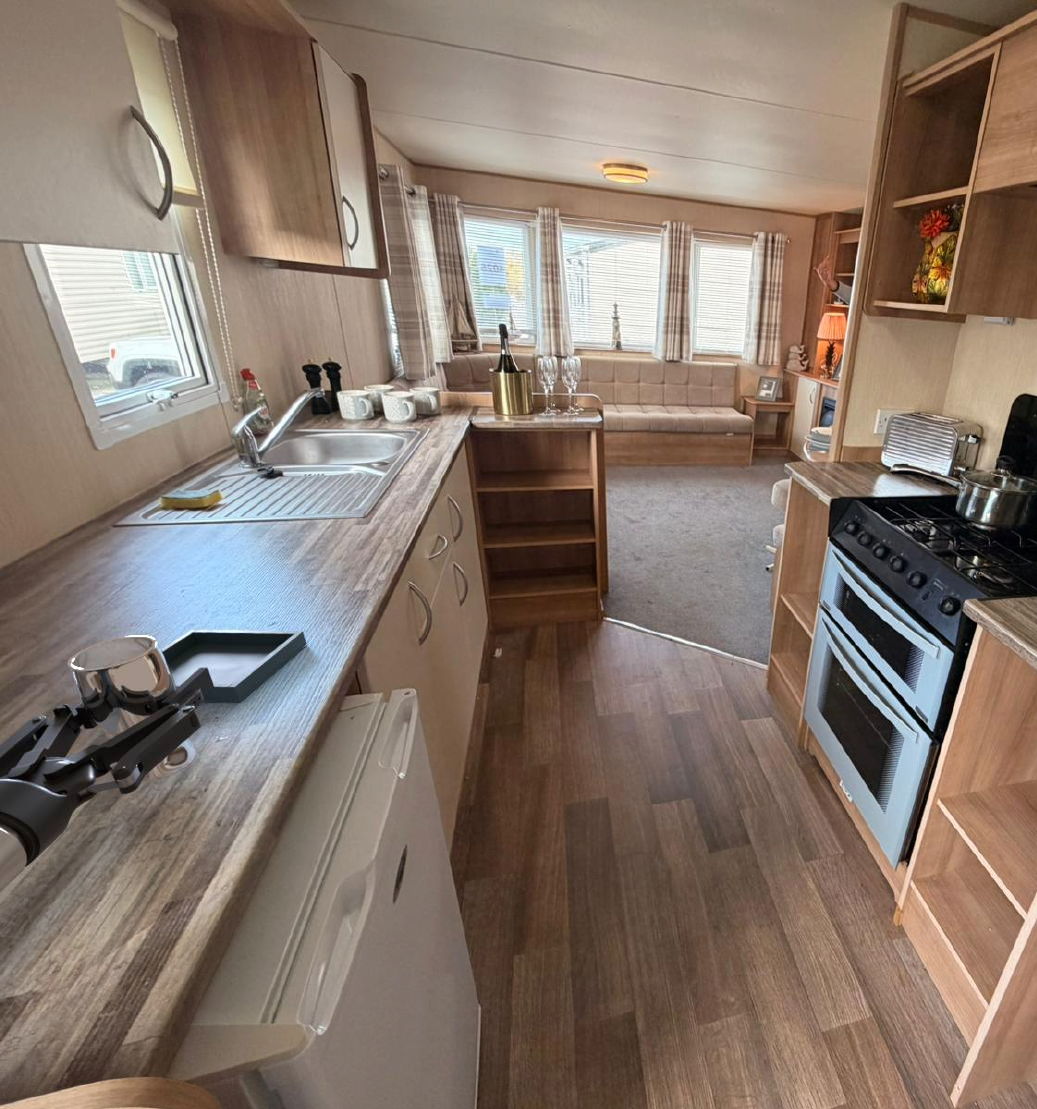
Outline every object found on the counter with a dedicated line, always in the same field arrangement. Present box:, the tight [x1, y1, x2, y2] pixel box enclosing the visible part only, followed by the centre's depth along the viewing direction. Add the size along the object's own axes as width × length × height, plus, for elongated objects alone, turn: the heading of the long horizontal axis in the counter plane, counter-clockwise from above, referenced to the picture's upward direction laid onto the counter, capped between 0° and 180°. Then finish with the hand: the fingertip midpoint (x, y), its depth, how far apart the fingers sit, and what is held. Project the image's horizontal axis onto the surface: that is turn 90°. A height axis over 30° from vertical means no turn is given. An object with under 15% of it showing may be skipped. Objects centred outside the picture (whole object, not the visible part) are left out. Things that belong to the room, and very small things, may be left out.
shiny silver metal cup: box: [67, 635, 198, 784], centre depth 64 cm, size 7×7×15 cm
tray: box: [160, 629, 308, 704], centre depth 85 cm, size 17×15×3 cm
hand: (169, 679), depth 68 cm, fingers closed on shiny silver metal cup, 7 cm apart
